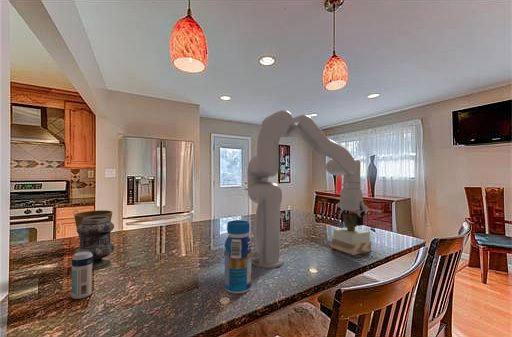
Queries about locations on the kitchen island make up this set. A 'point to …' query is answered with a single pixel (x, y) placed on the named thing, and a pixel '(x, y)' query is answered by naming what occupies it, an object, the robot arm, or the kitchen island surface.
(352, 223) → the dark brown tapered piece
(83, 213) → the plant pot
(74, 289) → the white pill bottle
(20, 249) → the kitchen island surface
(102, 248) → the dark grey carved vase
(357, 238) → the tower top
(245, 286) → the beverage bottle
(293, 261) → the kitchen island surface
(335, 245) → the box
